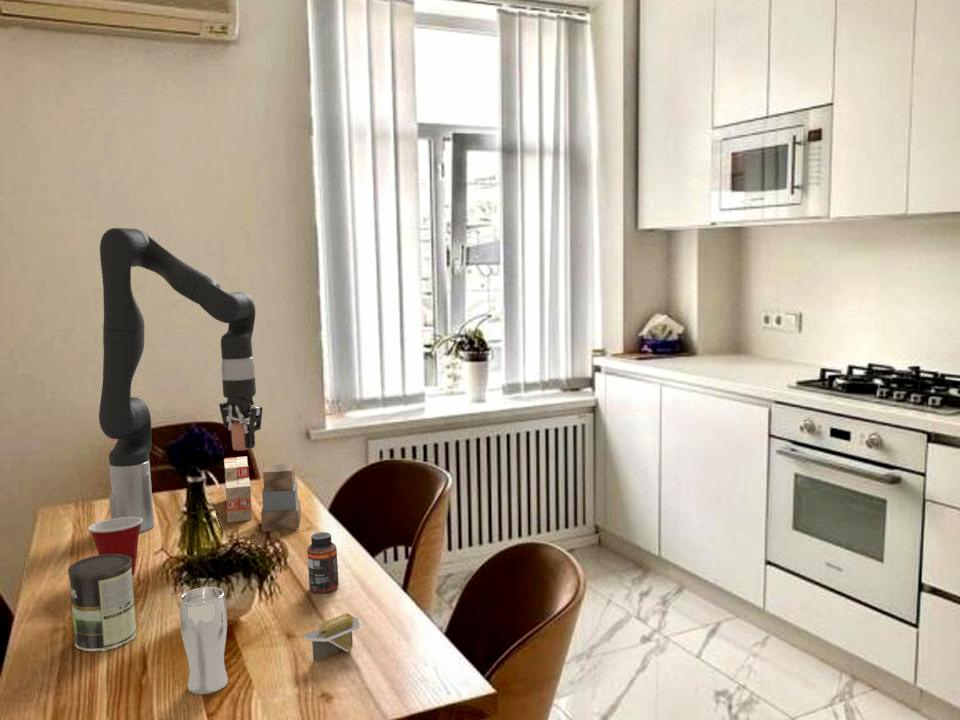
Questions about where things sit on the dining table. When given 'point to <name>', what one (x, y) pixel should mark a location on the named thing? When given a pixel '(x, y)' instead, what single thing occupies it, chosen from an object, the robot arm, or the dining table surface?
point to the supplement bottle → (322, 563)
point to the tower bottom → (281, 519)
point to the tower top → (279, 477)
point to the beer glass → (204, 638)
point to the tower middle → (280, 500)
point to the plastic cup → (117, 537)
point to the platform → (333, 636)
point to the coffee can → (102, 602)
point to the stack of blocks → (237, 489)
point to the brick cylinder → (238, 436)
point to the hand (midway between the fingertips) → (243, 446)
